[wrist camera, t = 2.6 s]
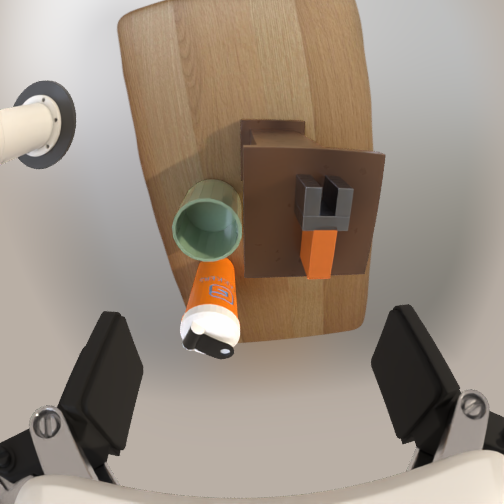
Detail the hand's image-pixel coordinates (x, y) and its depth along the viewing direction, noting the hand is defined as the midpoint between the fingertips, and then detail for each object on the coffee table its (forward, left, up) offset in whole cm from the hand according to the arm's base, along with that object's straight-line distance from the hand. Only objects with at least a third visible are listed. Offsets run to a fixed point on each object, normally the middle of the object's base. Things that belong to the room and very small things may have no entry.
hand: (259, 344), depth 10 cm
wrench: (+5, 0, -12) cm, 13 cm away
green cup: (-5, -10, -41) cm, 43 cm away
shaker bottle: (-5, -23, -41) cm, 48 cm away
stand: (+5, 0, -41) cm, 41 cm away
